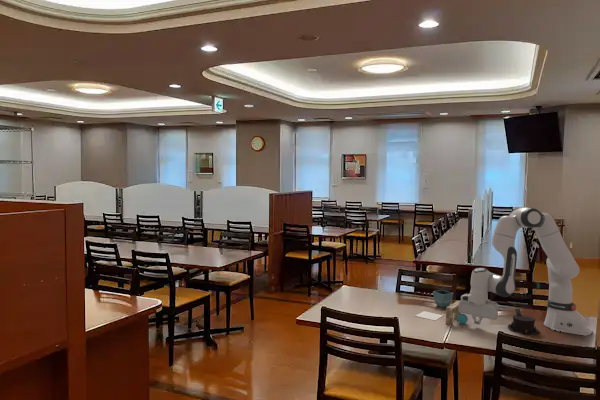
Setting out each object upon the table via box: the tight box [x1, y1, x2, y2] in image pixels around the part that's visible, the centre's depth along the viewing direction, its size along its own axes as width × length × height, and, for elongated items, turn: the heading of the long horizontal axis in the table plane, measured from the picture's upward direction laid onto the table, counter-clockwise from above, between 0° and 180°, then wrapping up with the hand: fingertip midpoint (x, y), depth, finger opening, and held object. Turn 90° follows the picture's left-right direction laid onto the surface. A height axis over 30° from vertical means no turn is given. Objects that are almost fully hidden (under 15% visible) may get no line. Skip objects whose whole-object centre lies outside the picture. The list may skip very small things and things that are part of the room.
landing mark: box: [414, 310, 444, 322], centre depth 264 cm, size 12×12×1 cm
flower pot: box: [432, 289, 454, 309], centre depth 283 cm, size 9×9×9 cm
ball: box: [456, 313, 469, 325], centre depth 251 cm, size 6×6×6 cm
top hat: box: [507, 308, 540, 336], centre depth 243 cm, size 15×15×10 cm
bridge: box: [445, 301, 462, 326], centre depth 255 cm, size 3×14×9 cm, turn 141°
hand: (477, 323), depth 247 cm, fingers closed
